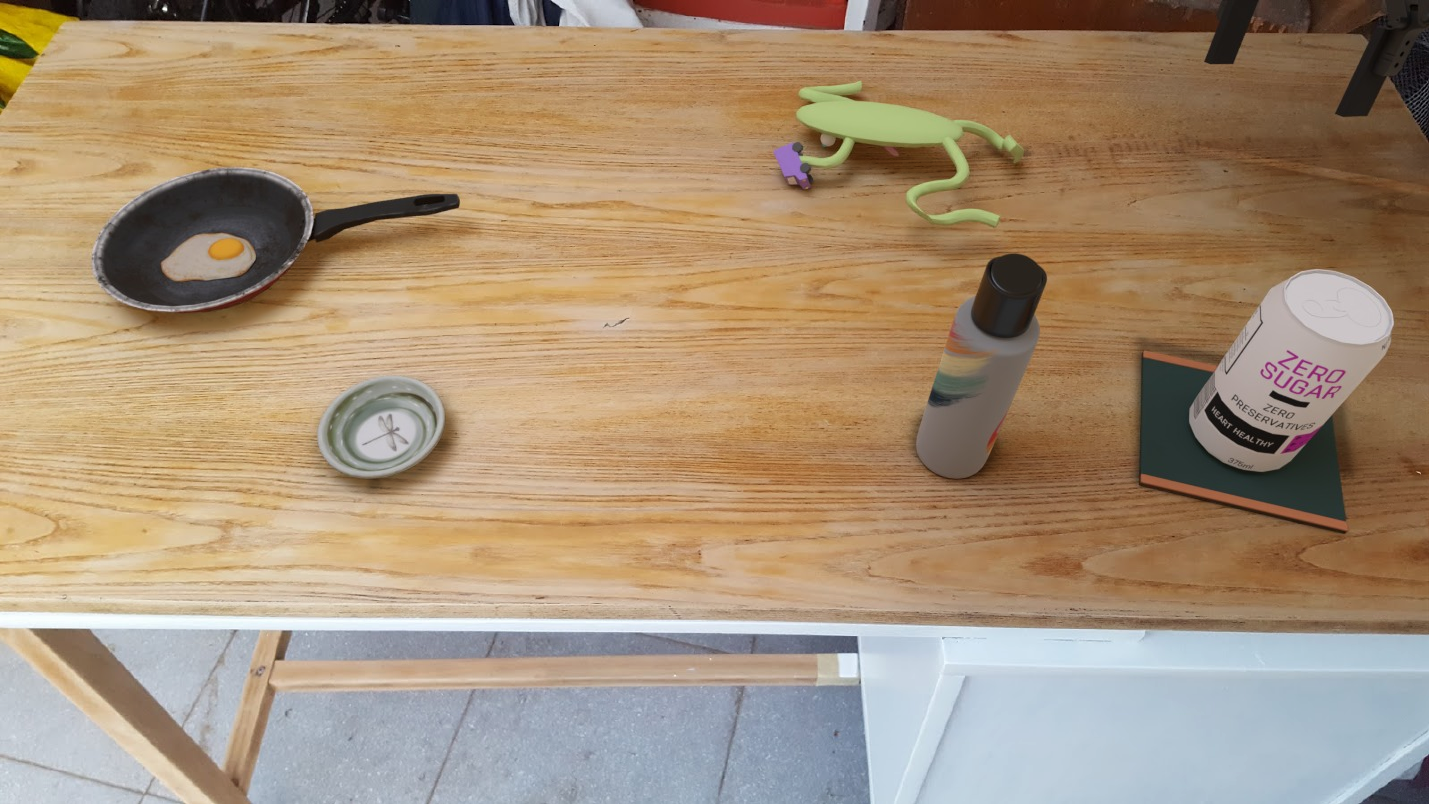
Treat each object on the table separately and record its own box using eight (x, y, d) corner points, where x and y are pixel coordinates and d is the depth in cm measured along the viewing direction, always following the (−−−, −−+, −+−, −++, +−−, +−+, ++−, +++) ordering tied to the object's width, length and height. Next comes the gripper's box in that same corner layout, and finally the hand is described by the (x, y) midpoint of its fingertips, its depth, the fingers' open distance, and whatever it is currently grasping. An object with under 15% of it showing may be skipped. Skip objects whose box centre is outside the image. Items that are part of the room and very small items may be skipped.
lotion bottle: (990, 430, 76) (1066, 248, 61) (982, 488, 73) (1061, 310, 57) (919, 415, 77) (977, 231, 61) (909, 471, 74) (967, 291, 58)
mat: (1326, 393, 79) (1329, 389, 79) (1344, 533, 71) (1348, 530, 71) (1141, 353, 82) (1143, 349, 81) (1138, 485, 73) (1141, 481, 73)
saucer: (302, 439, 75) (292, 421, 73) (406, 374, 79) (399, 355, 77) (369, 515, 71) (359, 498, 69) (475, 442, 75) (469, 423, 73)
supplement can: (1267, 392, 79) (1369, 261, 67) (1308, 476, 74) (1426, 350, 62) (1171, 394, 78) (1256, 263, 67) (1206, 478, 73) (1304, 352, 62)
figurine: (969, 278, 87) (984, 233, 83) (729, 169, 96) (731, 122, 92) (1048, 173, 96) (1065, 127, 92) (823, 82, 105) (828, 36, 101)
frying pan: (126, 205, 92) (107, 174, 89) (462, 165, 96) (454, 134, 93) (90, 350, 80) (67, 320, 77) (472, 297, 85) (463, 267, 82)
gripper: (1638, -197, 58) (1451, 139, 70) (1304, -225, 77) (1202, 44, 89) (1562, -208, 56) (1382, 142, 68) (1236, -234, 74) (1141, 44, 86)
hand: (1280, 87), depth 78 cm, fingers open, 13 cm apart
